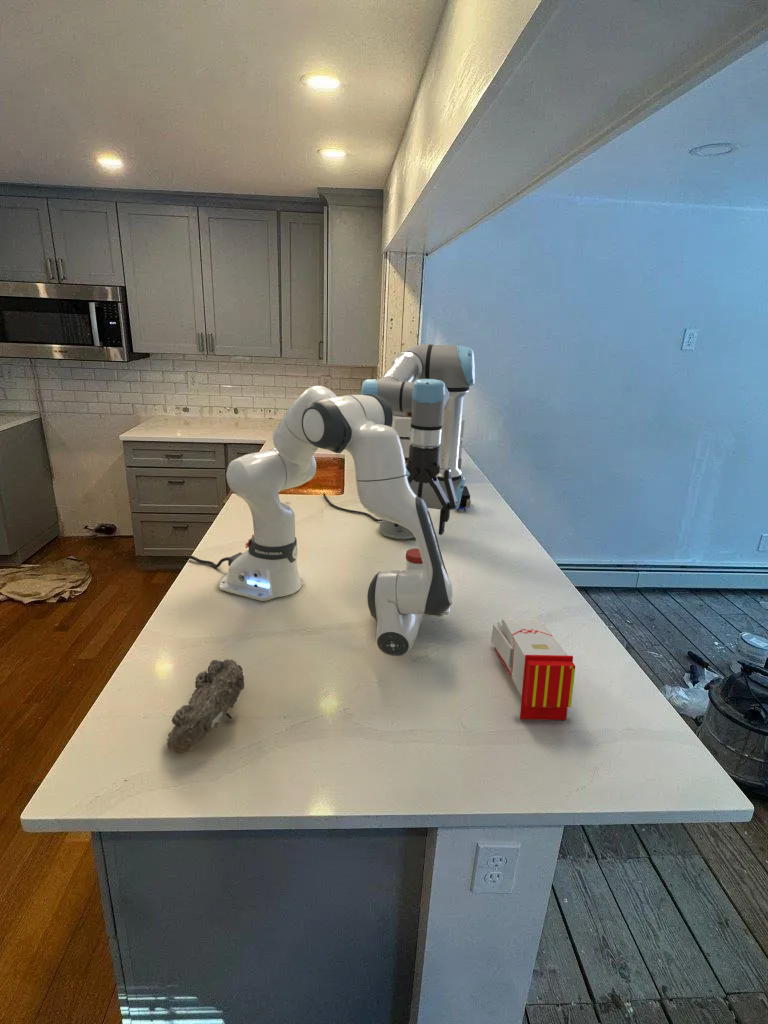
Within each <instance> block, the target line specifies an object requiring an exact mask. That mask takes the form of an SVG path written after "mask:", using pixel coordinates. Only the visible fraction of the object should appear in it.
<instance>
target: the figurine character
mask: <svg viewBox="0 0 768 1024" xmlns="http://www.w3.org/2000/svg"><path fill="white" fill-rule="evenodd" d="M471 501H472V500H471V494H470V491H469V488H468V486H467V485H464V488H463V492H462V496H461V501H460V504H459V507H458V509H457V510H456V511H457V512H460V510H463V511H464V513H466V512H467V509H470V508H471V505H472V504H471ZM466 508H467V509H466Z"/></svg>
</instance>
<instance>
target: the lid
mask: <svg viewBox="0 0 768 1024" xmlns="http://www.w3.org/2000/svg"><path fill="white" fill-rule="evenodd" d="M405 560H407V561H409V562H411V563H417V564H421V563H423V561H422V558H421V554H420V551H419V548H410V549H407V550H406V551H405Z"/></svg>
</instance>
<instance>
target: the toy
mask: <svg viewBox="0 0 768 1024" xmlns="http://www.w3.org/2000/svg"><path fill="white" fill-rule="evenodd" d="M490 638H491V639H490V642H491V644H492V646H493V647H494V650H495V652H496V654H497V655H498V657H499V659H500V660H501V662H502V664H503V666H504V667H505V669H506V671H507V672H508V674H509V676H510V677H511V679H512V681H513V683H514V685H515V688H516V690H517V691H518V693H519V695H520V697H521V698H520V710H519V719H520V720H534V721H535V720H539V721H567V716H568V708H572V701H573V692H574V684H575V674H576V673H575V672H576V665H575V663H574V656H573V655H568V654H567V653H566V652H565V650H564V649H563V648H562V646H561V645H560V644H559V643H558V641H557V640H556V639H555V637H554V636H553V634H552V633H551V632H550V631H549V629H548V628H547V626H546V624H545V623H543V621H542V620H541V619H540V618H505V617H503V618H501V620H498V622H497V624H495V623H493V624H492V632H491V637H490Z"/></svg>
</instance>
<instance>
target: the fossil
mask: <svg viewBox="0 0 768 1024" xmlns="http://www.w3.org/2000/svg"><path fill="white" fill-rule="evenodd" d="M243 670H244V669H243V667H242V665H240V664H237V662H236V661H235V660H234V659H232V658H231V659H227V658H226V659H224V660H223V661H222V660H217V659H212V660H211V661H210V663H209V665H208V666H207V671H201V672H199V673H198V674H197V675H196V676H195V680H194V684H195V685H194V687H195V689H194V690H193V693H192V694H191V697H190V698H189V700H188V704H184V705H182V706H181V707H180V709H177V710H176V711H175V713H174V715H173V716H172V718H171V723H172V724H173V727H172V730H171V731H170V732H168V734H167V738H166V741H167V742H166V745H167V749H168V750H169V751H173V752H174V753H176V754H178V753H182V752H188V751H189V752H192V751H193V750H195V748H196V747H197V746H199V744H200V743H201V742H203V741H204V740H205V739H206V738H207V737H208V736H209V735H210V734H211V733H212V732H214V730H215V729H217V727H218V726H219V724H220V722H221V721H222V720H223V719H224V718H225V716H226V717H227V719H229V720H233V717H232V715H230V714H229V710H230V709H231V708H234V706H235V704H236V703H237V702H238V699H239V697H240V695H241V693H242V691H243V690H245V689H244V688H245V675H244V671H243Z"/></svg>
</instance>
